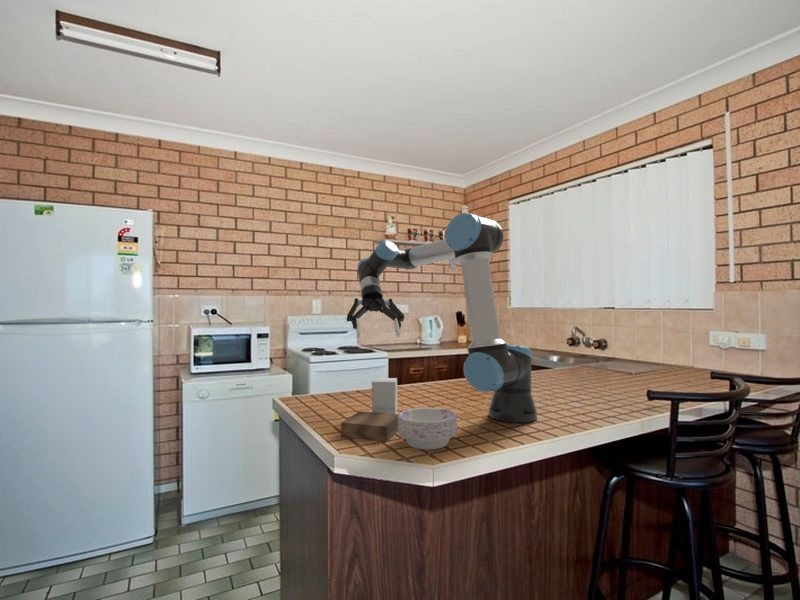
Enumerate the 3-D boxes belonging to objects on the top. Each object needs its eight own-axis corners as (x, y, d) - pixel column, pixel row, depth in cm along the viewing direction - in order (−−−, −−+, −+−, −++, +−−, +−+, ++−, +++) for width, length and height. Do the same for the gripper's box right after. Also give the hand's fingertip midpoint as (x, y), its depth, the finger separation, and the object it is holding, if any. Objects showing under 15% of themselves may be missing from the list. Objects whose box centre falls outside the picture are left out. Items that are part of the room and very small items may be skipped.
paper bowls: (391, 438, 115) (391, 408, 115) (443, 433, 119) (443, 405, 119) (407, 457, 100) (407, 423, 101) (466, 451, 105) (466, 419, 105)
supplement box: (397, 417, 137) (398, 377, 137) (395, 423, 129) (395, 381, 129) (375, 416, 137) (375, 377, 138) (371, 422, 130) (371, 381, 130)
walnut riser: (401, 428, 124) (401, 414, 124) (386, 442, 111) (386, 426, 112) (359, 424, 128) (359, 411, 128) (341, 437, 115) (341, 422, 115)
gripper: (401, 299, 164) (412, 341, 149) (336, 298, 157) (340, 342, 143) (405, 284, 158) (416, 327, 144) (338, 283, 152) (342, 327, 138)
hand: (378, 335), depth 143 cm, fingers open, 13 cm apart
